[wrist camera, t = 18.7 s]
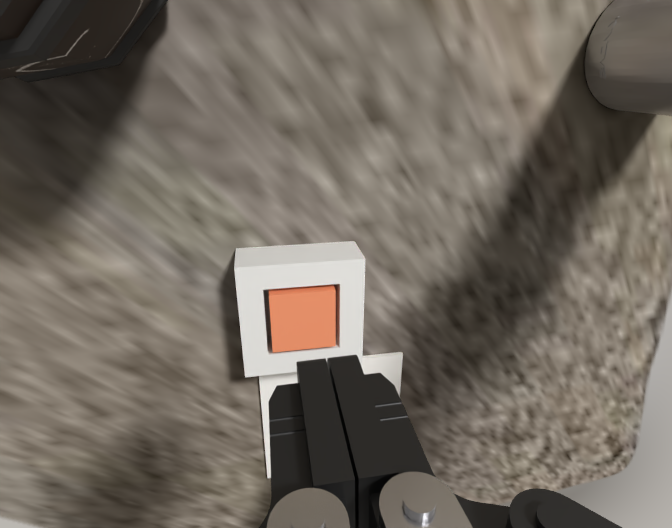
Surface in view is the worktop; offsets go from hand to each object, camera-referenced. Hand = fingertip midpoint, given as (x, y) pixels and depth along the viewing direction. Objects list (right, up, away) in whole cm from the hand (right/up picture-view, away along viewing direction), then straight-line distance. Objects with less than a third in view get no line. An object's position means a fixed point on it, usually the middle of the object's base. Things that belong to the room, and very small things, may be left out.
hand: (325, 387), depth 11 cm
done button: (-3, 0, +27) cm, 27 cm away
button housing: (-3, 0, +28) cm, 28 cm away
